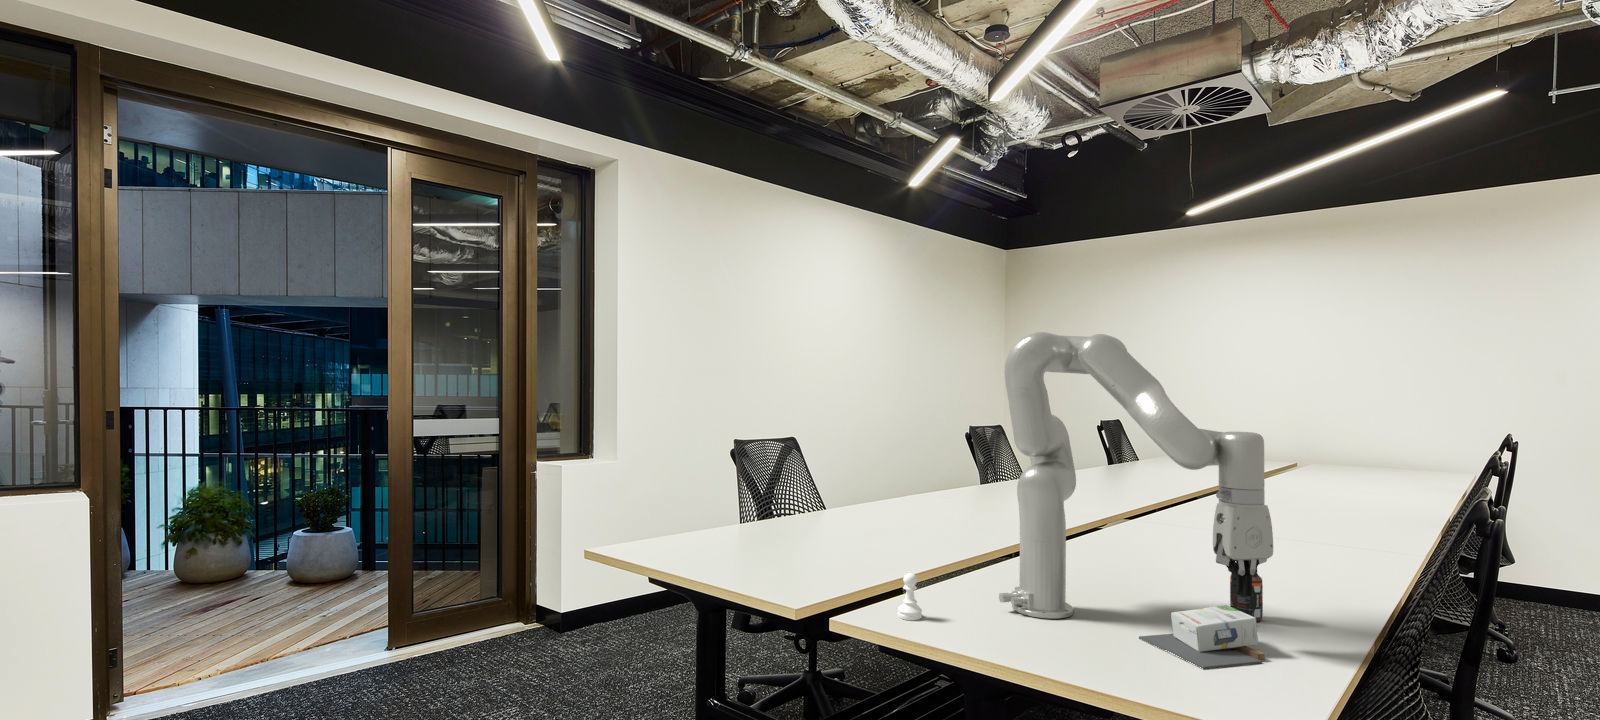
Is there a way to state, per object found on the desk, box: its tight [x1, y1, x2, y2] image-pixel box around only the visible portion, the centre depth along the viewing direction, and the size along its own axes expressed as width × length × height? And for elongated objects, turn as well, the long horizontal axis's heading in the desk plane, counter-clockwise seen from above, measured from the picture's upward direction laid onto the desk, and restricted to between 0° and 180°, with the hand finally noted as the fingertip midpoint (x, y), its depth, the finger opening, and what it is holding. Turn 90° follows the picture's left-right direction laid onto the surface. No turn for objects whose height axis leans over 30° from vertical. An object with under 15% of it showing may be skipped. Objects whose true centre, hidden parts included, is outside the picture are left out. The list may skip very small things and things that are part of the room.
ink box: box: [1170, 604, 1259, 652], centre depth 142 cm, size 9×5×12 cm
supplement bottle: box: [1229, 566, 1264, 623], centre depth 160 cm, size 6×6×11 cm
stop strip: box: [1232, 646, 1266, 662], centre depth 142 cm, size 2×14×1 cm, turn 16°
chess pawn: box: [897, 572, 923, 621], centre depth 157 cm, size 5×5×9 cm
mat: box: [1138, 633, 1263, 670], centre depth 140 cm, size 13×16×1 cm
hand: (1241, 594), depth 142 cm, fingers closed
